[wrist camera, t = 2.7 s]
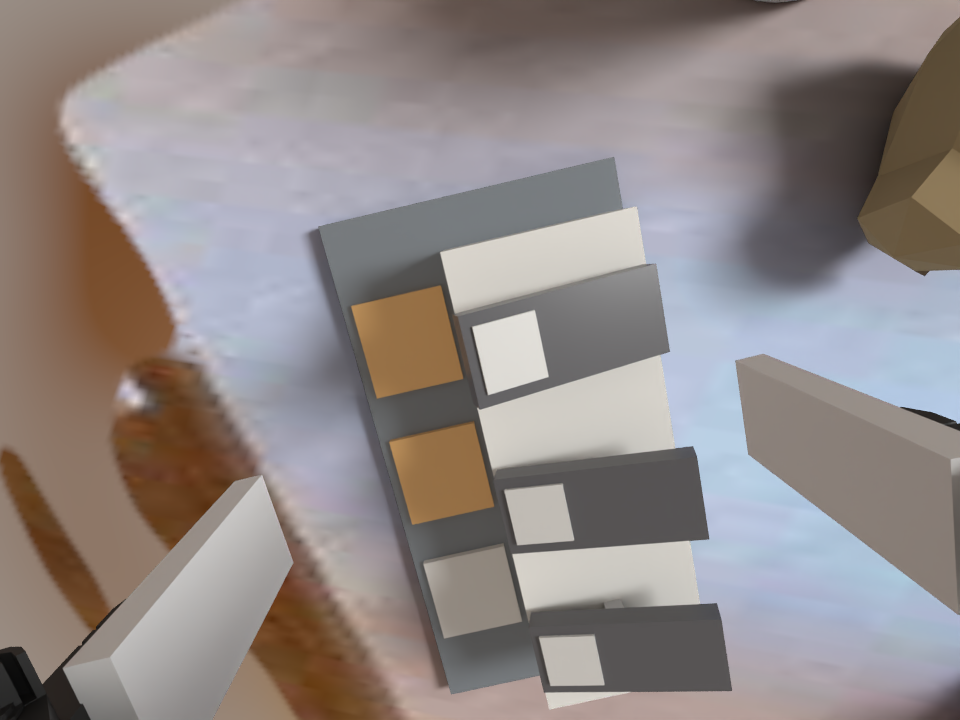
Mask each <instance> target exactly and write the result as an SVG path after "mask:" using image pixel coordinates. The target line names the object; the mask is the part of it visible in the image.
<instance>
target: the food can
mask: <svg viewBox="0 0 960 720" xmlns="http://www.w3.org/2000/svg"><path fill="white" fill-rule="evenodd" d="M755 1H762V2H771V3H778V2H787V1H795V0H755Z"/></svg>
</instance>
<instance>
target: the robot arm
mask: <svg viewBox="0 0 960 720" xmlns="http://www.w3.org/2000/svg"><path fill="white" fill-rule="evenodd" d="M735 362H736V369H737V377H738V384H739V391H740V398H741V405H742V412H743V420H744V427H745V434H746V441H747V448H748V455H750V456H751V457H752V458H754V459H755V460H756V461H758V462H759V463H760V464H762V465H763V466H764V467H765V468H767V469H768V470H769V471H771V472H772V473H773V474H775V475H776V476H777V477H779V478H780V479H781V480H782V481H784V482H785V483H786V484H788V485H789V486H790V487H792V488H793V489H794V490H796V491H797V492H798V493H799V494H801V495H802V496H803V497H805V498H806V499H807V500H809V501H810V502H811V503H813V504H814V505H815V506H816V507H818V508H819V509H820V510H822V511H823V512H824V513H826V514H827V515H828V516H830V517H831V518H832V519H833V520H835V521H836V522H837V523H839V524H840V525H841V526H843V527H844V528H845V529H847V530H848V531H849V532H850V533H852V534H853V535H854V536H856V537H857V538H858V539H860V540H861V541H862V542H864V543H865V544H866V545H867V546H869V547H870V548H871V549H873V550H874V551H875V552H877V553H878V554H879V555H881V556H882V557H883V558H884V559H886V560H887V561H888V562H890V563H891V564H892V565H894V566H895V567H896V568H898V569H899V570H900V571H901V572H903V573H904V574H905V575H907V576H908V577H909V578H911V579H912V580H913V581H915V582H916V583H917V584H918V585H920V586H921V587H922V588H924V589H925V590H926V591H928V592H929V593H930V594H932V595H933V596H934V597H935V598H937V599H938V600H939V601H941V602H942V603H943V604H945V605H946V606H947V607H949V608H950V609H951V610H952V611H954V612H955V613H956V614H958V615H960V424H957V423H956V421H954V420H951V419H948V418H946V417H943V416H940V415H938V414H935V413H932V412H927V411H922V410H916V409H911V408H905V407H897V406H895V405H892V404H890V403H887V402H884V401H882V400H879V399H877V398H874V397H872V396H869V395H867V394H864V393H862V392H859V391H857V390H854V389H851V388H849V387H846V386H844V385H841V384H839V383H836V382H834V381H831V380H829V379H826V378H823V377H821V376H818V375H816V374H813V373H811V372H808V371H806V370H803V369H801V368H798V367H796V366H793V365H790V364H788V363H785V362H783V361H780V360H778V359H775V358H773V357H770V356H768V355H765V354H761V355H757V356H753V357H748V358H744V359H740V360H736V361H735ZM292 564H293V560H292V557H291V555H290V552H289V549H288V546H287V543H286V541H285V538H284V535H283V532H282V530H281V527H280V524H279V521H278V518H277V516H276V513H275V510H274V507H273V505H272V502H271V499H270V496H269V493H268V491H267V488H266V485H265V482H264V479H263V477H262V475H259V476H255V477H251V478H247V479H242V480H238V481H235V482H234V483H233V484H232V485H231V486H230V487H229V488H228V489H227V490H226V491H225V492H224V494H223V495H222V496H221V497H220V498H219V499H218V500H217V501H216V502H215V503H214V504H213V505H212V507H211V508H210V509H209V510H208V511H207V512H206V513H205V514H204V515H203V516H202V517H201V519H200V520H199V521H198V522H197V523H196V524H195V525H194V526H193V527H192V528H191V529H190V530H189V532H188V533H187V534H186V535H185V536H184V537H183V538H182V539H181V540H180V541H179V542H178V543H177V545H176V546H175V547H174V548H173V549H172V550H171V551H170V552H169V553H168V554H167V555H166V557H165V558H164V559H163V560H162V561H161V562H160V563H159V564H158V565H157V566H156V567H155V568H154V570H153V571H152V572H151V573H150V574H149V575H148V576H147V577H146V578H145V579H144V581H143V582H142V583H141V584H140V585H139V586H138V587H137V588H136V589H135V590H134V591H133V592H132V594H131V595H130V596H129V597H128V598H127V599H125V600H124V601H123V602H121V603H120V604H119V605H117V606H116V607H115V608H113V609H112V610H111V611H110V613H109V614H108V615H107V616H106V617H105V618H104V619H103V620H102V621H101V622H100V623H99V624H98V625H97V626H96V630H93V631H92V632H91V633H90V634H89V635H88V636H87V637H86V638H85V639H84V640H83V642H82V645H81V646H78V647H77V648H76V649H75V650H74V651H73V652H72V653H71V654H70V655H69V657H68V658H67V659H66V660H65V661H64V662H63V663H62V664H61V665H60V666H59V667H58V668H57V669H56V670H55V671H54V673H53V674H52V675H51V676H50V677H49V678H48V679H47V680H46V681H45V682H44V683H43V684H42V683H41V681H40V679H39V677H38V675H37V673H36V672H35V669H34V667H33V666H32V664H31V662H30V660H29V658H28V656H27V654H26V652H25V650H24V649H23V648H22V647H8V648H5V649H1V650H0V720H213V718H214V716H215V714H216V712H217V710H218V708H219V706H220V704H221V702H222V700H223V698H224V696H225V694H226V692H227V691H228V689H229V687H230V685H231V683H232V681H233V679H234V677H235V675H236V673H237V671H238V669H239V667H240V665H241V663H242V661H243V659H244V657H245V655H246V654H247V652H248V650H249V648H250V646H251V644H252V642H253V640H254V638H255V636H256V634H257V632H258V630H259V628H260V626H261V624H262V622H263V620H264V619H265V617H266V615H267V613H268V611H269V609H270V607H271V605H272V603H273V601H274V599H275V597H276V595H277V593H278V591H279V589H280V587H281V585H282V583H283V582H284V580H285V578H286V576H287V574H288V572H289V570H290V568H291V566H292Z"/></svg>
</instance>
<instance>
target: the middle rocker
mask: <svg viewBox="0 0 960 720" xmlns="http://www.w3.org/2000/svg"><path fill="white" fill-rule="evenodd" d="M493 482H494V486H495V490H496V494H497V498H498V503H499V507H500V511H501V515H502V519H503V523H504V528H505V532H506V536H507V540H508V544H509V548H510V553H511V554H521V553H534V552H548V551H561V550H574V549H587V548H601V547H614V546H627V545H640V544H654V543H667V542H680V541H693V540H707V539H709V534H708V527H707V521H706V514H705V507H704V501H703V494H702V487H701V481H700V474H699V467H698V461H697V456H696V453H695V450H694V448H693V446H692V447H683V448H675V449H666V450H658V451H649V452H641V453H632V454H624V455H615V456H607V457H598V458H590V459H581V460H573V461H564V462H556V463H547V464H539V465H530V466H522V467H513V468H505V469H497V471H496V474H495V476H494V479H493Z"/></svg>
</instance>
